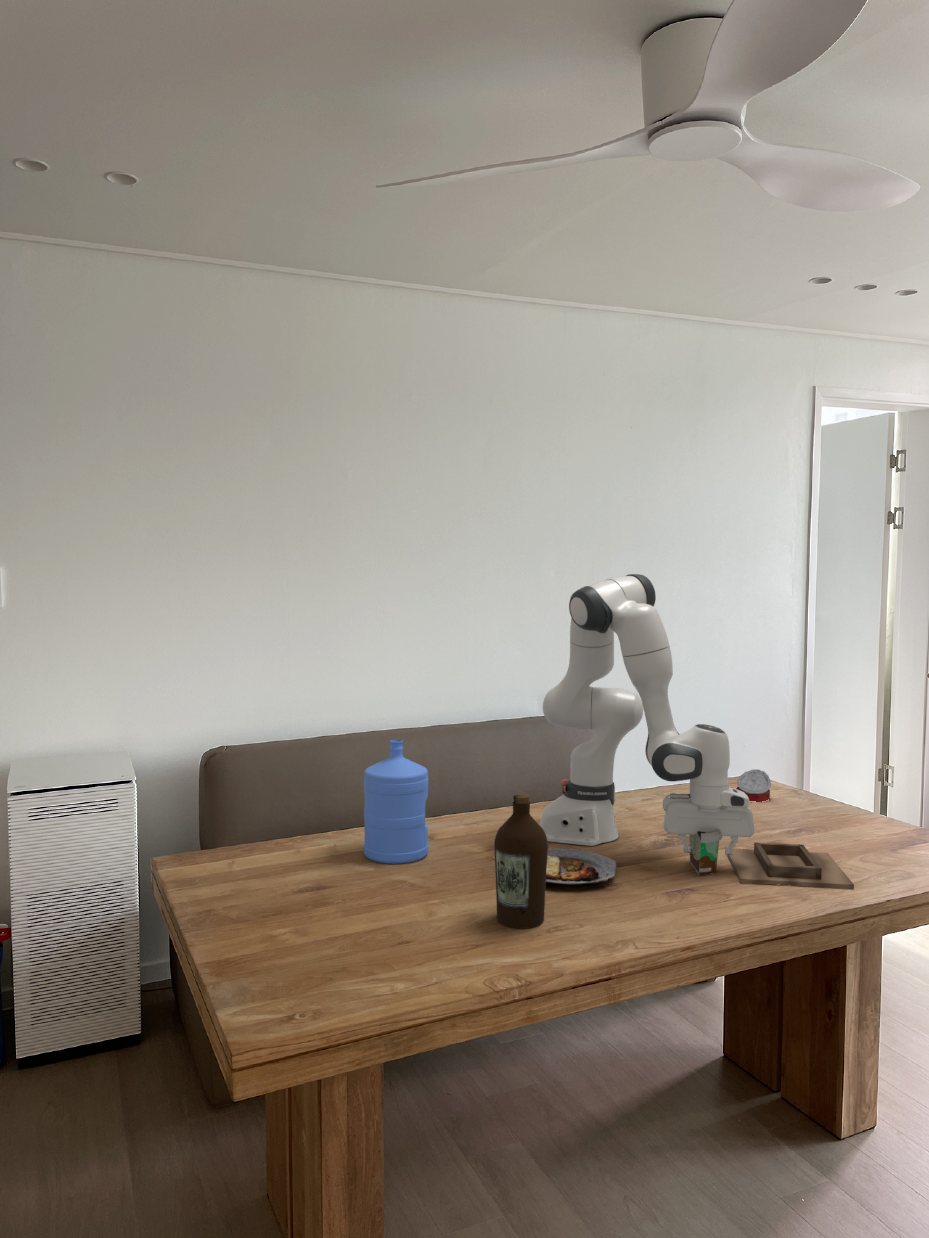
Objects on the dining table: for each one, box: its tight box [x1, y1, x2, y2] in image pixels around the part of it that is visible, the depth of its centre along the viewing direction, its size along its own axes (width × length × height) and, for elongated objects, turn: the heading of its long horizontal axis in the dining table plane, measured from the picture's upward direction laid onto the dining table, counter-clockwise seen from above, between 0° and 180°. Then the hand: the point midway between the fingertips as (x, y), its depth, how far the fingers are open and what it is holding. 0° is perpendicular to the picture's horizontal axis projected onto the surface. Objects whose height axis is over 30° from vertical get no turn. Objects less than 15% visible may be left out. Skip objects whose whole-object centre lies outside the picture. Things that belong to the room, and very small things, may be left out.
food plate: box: [546, 847, 617, 886], centre depth 206 cm, size 25×23×4 cm
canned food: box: [735, 769, 772, 802], centre depth 273 cm, size 11×10×10 cm
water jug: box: [363, 739, 429, 865], centre depth 218 cm, size 16×16×28 cm
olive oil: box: [493, 793, 549, 929], centre depth 178 cm, size 11×11×25 cm
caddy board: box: [727, 841, 855, 890], centre depth 209 cm, size 24×22×4 cm
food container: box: [689, 829, 723, 876], centre depth 209 cm, size 12×6×10 cm, turn 179°
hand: (707, 853), depth 209 cm, fingers open, 8 cm apart
